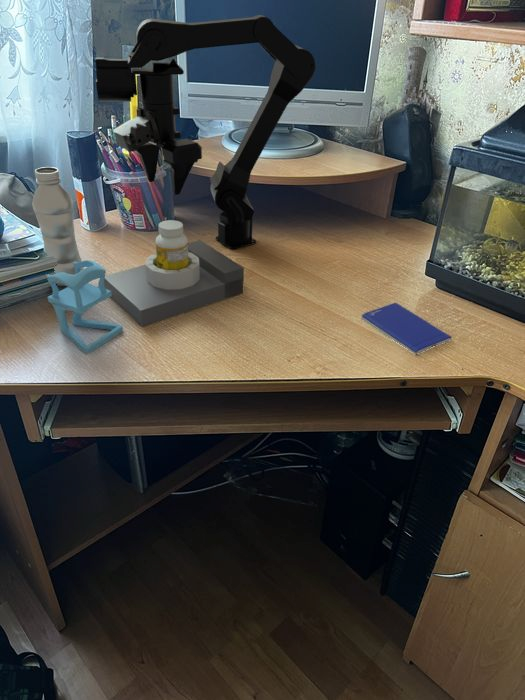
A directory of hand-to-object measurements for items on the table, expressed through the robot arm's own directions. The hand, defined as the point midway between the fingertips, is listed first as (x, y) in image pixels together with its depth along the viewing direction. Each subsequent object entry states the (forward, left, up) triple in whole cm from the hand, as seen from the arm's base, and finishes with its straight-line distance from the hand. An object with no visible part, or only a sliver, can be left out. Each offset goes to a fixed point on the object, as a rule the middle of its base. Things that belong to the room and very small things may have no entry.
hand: (163, 187), depth 106 cm
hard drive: (-16, +50, -13) cm, 54 cm away
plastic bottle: (+23, +4, -12) cm, 26 cm away
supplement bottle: (+9, +18, -9) cm, 22 cm away
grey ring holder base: (+9, +18, -12) cm, 24 cm away
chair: (+27, +22, -12) cm, 37 cm away
